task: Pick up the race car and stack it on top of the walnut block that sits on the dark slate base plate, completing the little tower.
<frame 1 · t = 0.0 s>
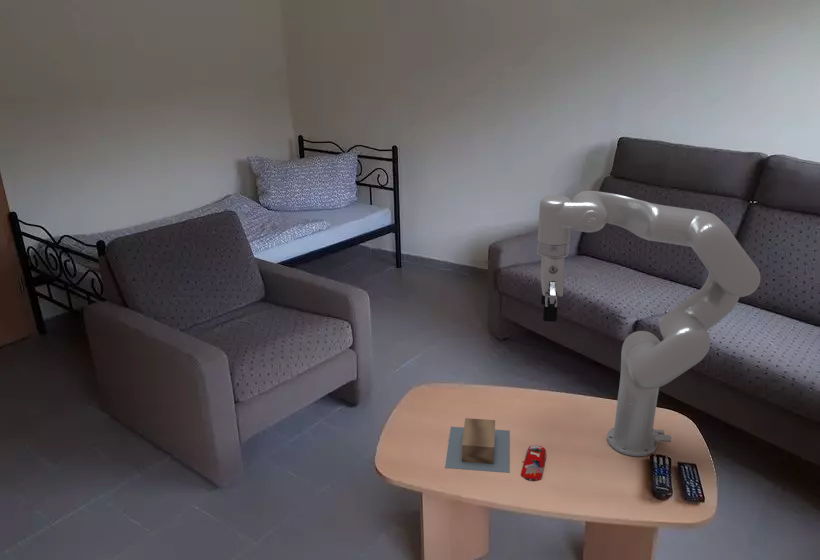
hand: (548, 312, 167), 37 cm above the table, tool pointing down, fingers open, 9 cm apart
race car: (533, 470, 168), on the table
walnut block: (478, 448, 174), point 1 cm above the table, touching base plate
base plate: (478, 452, 175), on the table
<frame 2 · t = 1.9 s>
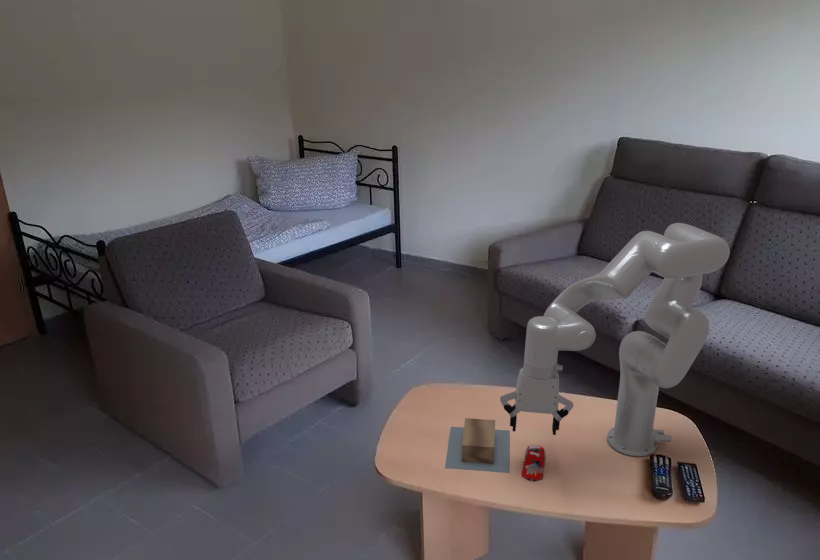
hand: (533, 430, 164), 12 cm above the table, tool pointing down, fingers open, 9 cm apart
nothing on the table moved.
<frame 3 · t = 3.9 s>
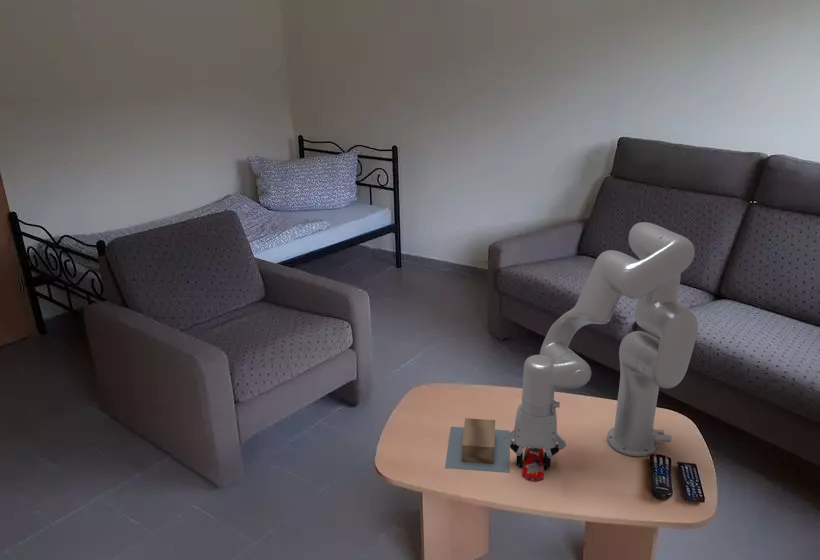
hand: (532, 466, 168), 1 cm above the table, tool pointing down, fingers closed on race car, 5 cm apart
race car: (533, 469, 168), on the table, touching gripper
everything else where it was.
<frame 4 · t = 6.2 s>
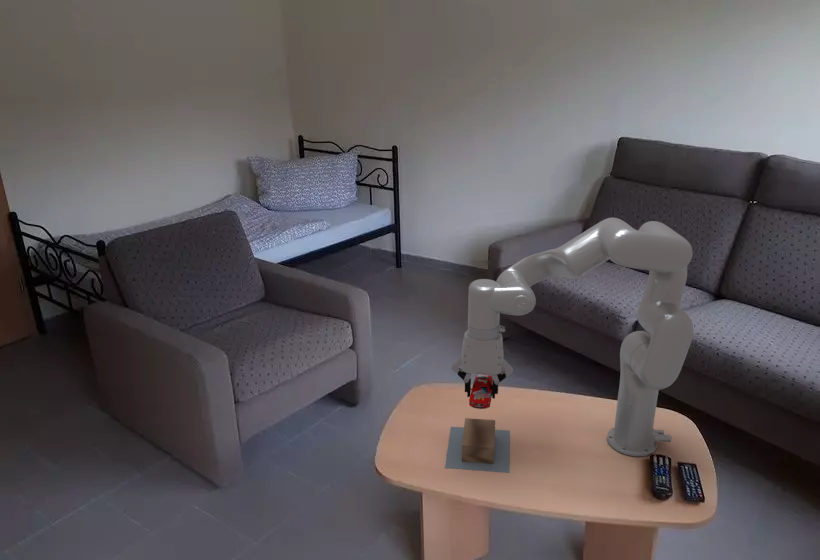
hand: (481, 394, 168), 18 cm above the table, tool pointing down, fingers closed on race car, 5 cm apart
race car: (481, 397, 168), point 17 cm above the table, touching gripper
everything else where it was.
when the fingers open (8 cm above the table, at t = 8.8 s): race car stays where it is, resting on walnut block.
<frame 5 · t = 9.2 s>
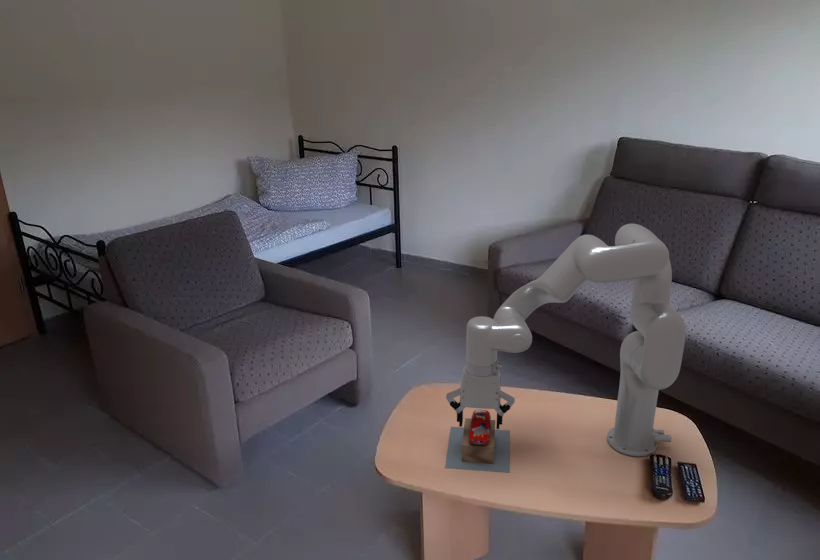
hand: (479, 424, 171), 8 cm above the table, tool pointing down, fingers open, 9 cm apart
race car: (479, 433, 172), point 6 cm above the table, touching walnut block
walnut block: (478, 448, 174), point 1 cm above the table, touching base plate, race car
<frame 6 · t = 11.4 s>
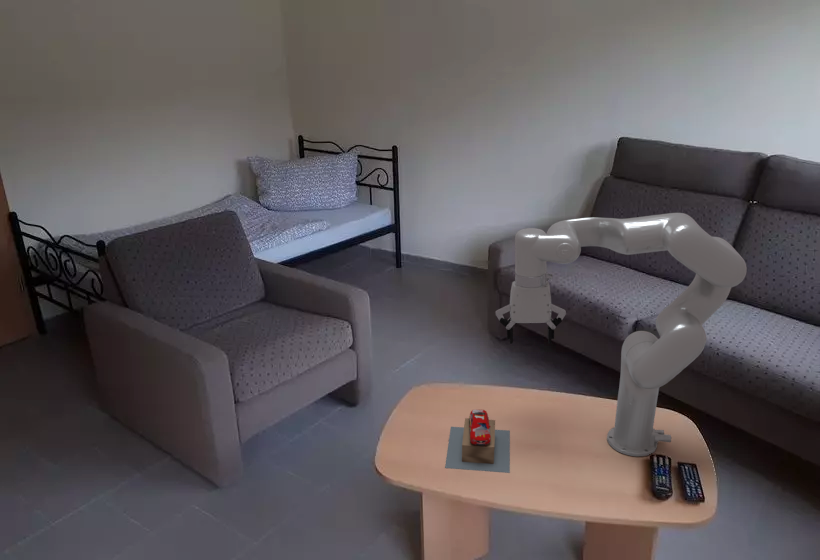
hand: (530, 341, 170), 29 cm above the table, tool pointing down, fingers open, 9 cm apart
nothing on the table moved.
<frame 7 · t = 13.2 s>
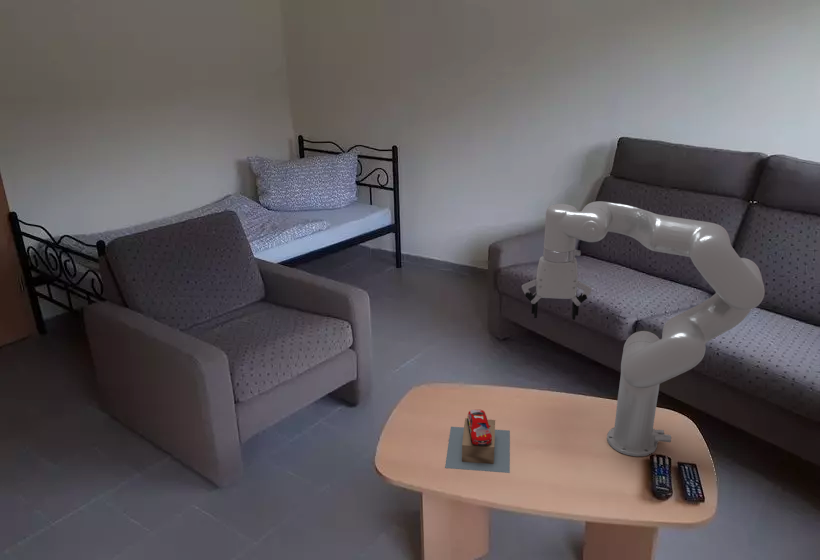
hand: (554, 316, 173), 33 cm above the table, tool pointing down, fingers open, 9 cm apart
nothing on the table moved.
at the end: race car inside the target area on the walnut block (0.1 cm from its centre), point 4.8 cm above the walnut block's base; race car touching walnut block; the gripper is holding nothing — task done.
